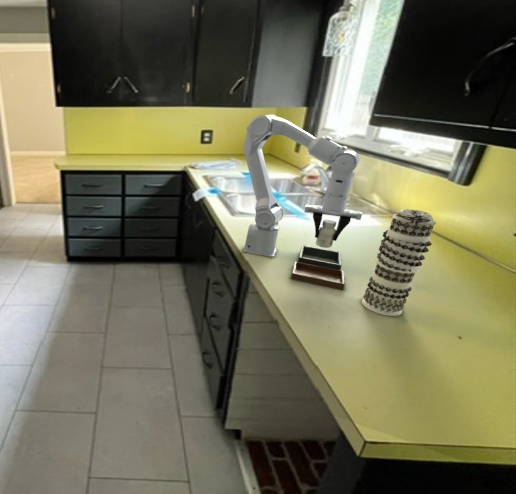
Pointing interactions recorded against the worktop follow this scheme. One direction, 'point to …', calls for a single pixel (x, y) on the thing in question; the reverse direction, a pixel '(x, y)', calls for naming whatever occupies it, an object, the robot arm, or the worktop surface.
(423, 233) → the decorative candle
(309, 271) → the tray
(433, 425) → the worktop surface
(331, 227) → the pill bottle
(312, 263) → the dark grey square frame
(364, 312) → the worktop surface
